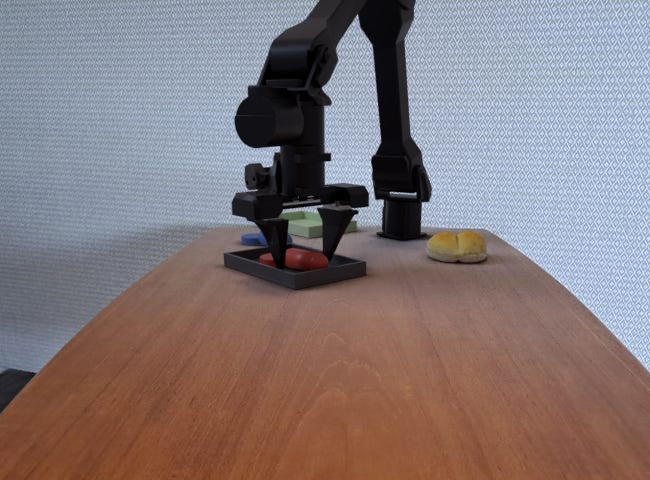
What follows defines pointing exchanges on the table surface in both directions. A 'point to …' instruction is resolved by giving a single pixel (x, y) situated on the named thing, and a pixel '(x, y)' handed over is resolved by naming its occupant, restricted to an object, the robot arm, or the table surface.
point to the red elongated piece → (299, 260)
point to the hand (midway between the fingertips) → (304, 265)
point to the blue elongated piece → (258, 239)
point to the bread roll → (457, 247)
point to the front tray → (293, 278)
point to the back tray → (309, 224)
